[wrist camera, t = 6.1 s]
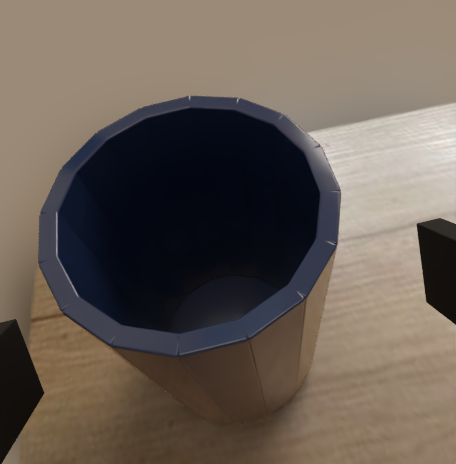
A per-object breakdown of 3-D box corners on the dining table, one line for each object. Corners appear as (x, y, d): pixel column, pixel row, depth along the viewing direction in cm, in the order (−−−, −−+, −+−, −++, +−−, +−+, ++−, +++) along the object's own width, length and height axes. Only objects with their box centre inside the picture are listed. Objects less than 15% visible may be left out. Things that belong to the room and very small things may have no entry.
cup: (171, 442, 19) (33, 393, 9) (151, 290, 23) (40, 130, 12) (333, 402, 19) (392, 305, 9) (287, 257, 23) (289, 71, 12)
